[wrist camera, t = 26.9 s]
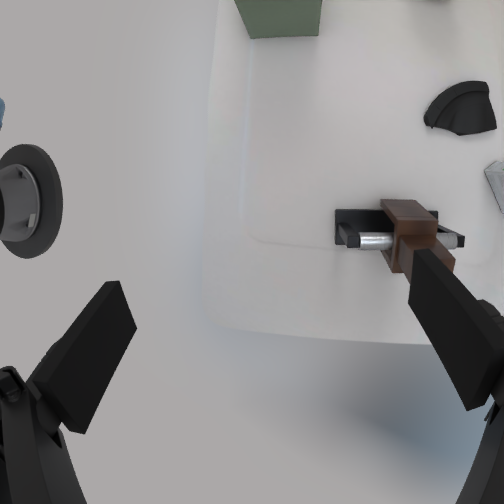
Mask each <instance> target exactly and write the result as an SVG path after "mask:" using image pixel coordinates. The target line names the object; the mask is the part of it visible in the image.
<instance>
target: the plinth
mask: <svg viewBox="0 0 504 504" xmlns="http://www.w3.org/2000/svg"><path fill="white" fill-rule="evenodd" d="M234 1H235V3H236V5H237V8H238V10H239V12H240V14H241V17H242V19H243V21H244V24H245V26H246V29H247V31H248V33H249V36H250V38H251V39H255V38H268V37H287V36H318V32H319V23H320V14H321V4H322V0H234Z"/></svg>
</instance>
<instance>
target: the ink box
mask: <svg viewBox="0 0 504 504" xmlns="http://www.w3.org/2000/svg"><path fill="white" fill-rule="evenodd" d="M484 172H485V174H486V176H487V179H488V181H489V183H490V185H491V188H492V190H493V192H494V195H495V197H496V199H497V202H498V204H499V207H500V209H501V212H502V213H503V214H504V162H503V161H496V162H495V163H494V164H492V165H491V166H490V167H488V168H487V169H486V170H485V171H484Z"/></svg>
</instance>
